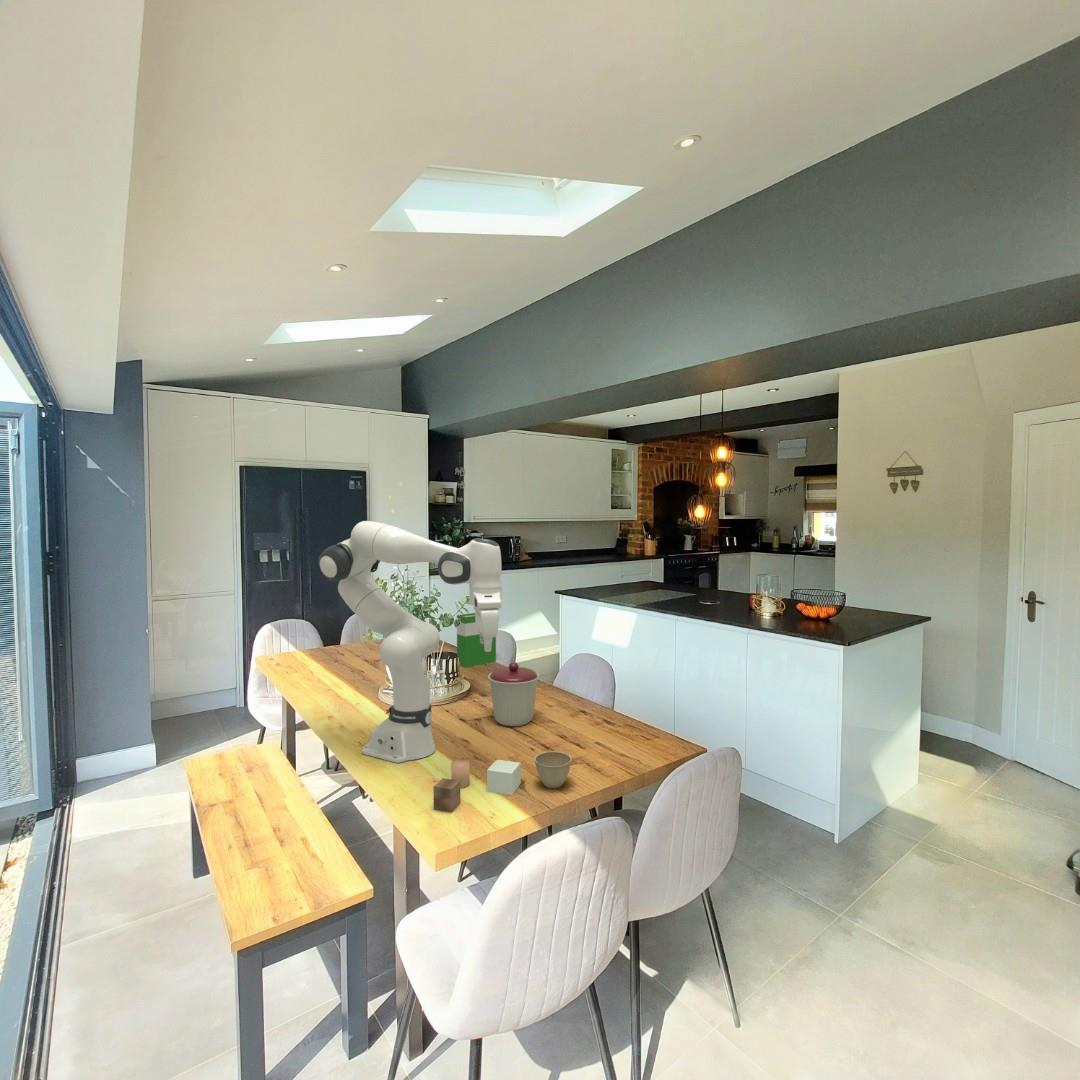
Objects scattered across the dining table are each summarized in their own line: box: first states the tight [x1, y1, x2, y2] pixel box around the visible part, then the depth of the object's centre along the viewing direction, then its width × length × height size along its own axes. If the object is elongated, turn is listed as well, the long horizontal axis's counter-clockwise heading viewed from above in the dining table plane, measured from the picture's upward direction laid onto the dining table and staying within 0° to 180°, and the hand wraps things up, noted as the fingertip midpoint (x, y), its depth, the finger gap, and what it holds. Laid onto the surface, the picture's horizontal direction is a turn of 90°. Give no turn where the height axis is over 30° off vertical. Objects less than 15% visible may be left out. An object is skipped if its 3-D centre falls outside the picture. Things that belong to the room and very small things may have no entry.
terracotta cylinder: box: [450, 758, 471, 790], centre depth 164 cm, size 5×5×6 cm
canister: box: [487, 662, 540, 727], centre depth 212 cm, size 18×18×21 cm
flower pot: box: [534, 750, 572, 789], centre depth 164 cm, size 10×10×7 cm
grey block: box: [486, 759, 522, 796], centre depth 162 cm, size 7×7×6 cm
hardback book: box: [456, 612, 497, 669], centre depth 291 cm, size 18×7×24 cm, turn 130°
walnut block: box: [432, 777, 461, 814], centre depth 151 cm, size 5×5×6 cm
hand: (485, 647), depth 166 cm, fingers open, 8 cm apart
